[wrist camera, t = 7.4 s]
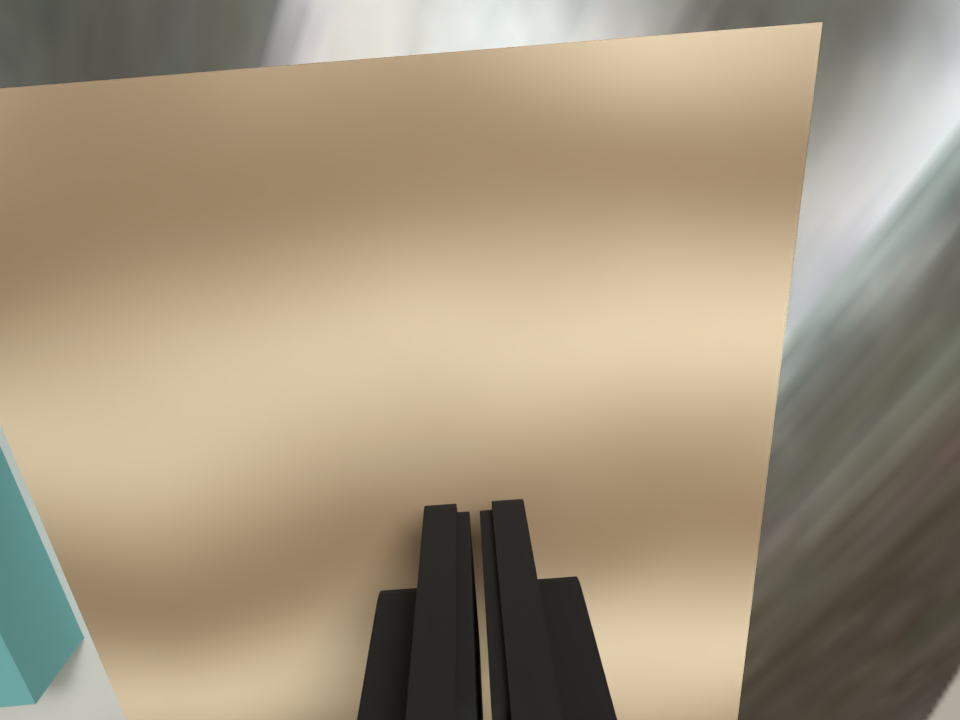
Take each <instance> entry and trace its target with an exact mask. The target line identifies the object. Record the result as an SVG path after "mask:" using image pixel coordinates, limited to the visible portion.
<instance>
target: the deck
mask: <svg viewBox="0 0 960 720" xmlns="http://www.w3.org/2000/svg"><path fill="white" fill-rule="evenodd" d="M822 24H823V22H817V23H805V24H792V25H780V26H768V27H755V28H743V29H730V30H718V31H706V32H693V33H681V34H669V35H656V36H644V37H632V38H619V39H607V40H594V41H582V42H570V43H557V44H545V45H533V46H520V47H508V48H496V49H483V50H471V51H459V52H446V53H434V54H421V55H409V56H397V57H384V58H372V59H360V60H347V61H335V62H323V63H310V64H298V65H285V66H273V67H261V68H248V69H236V70H224V71H211V72H199V73H187V74H174V75H162V76H150V77H137V78H125V79H112V80H100V81H88V82H75V83H63V84H51V85H38V86H26V87H14V88H1V89H0V424H1V427H2V429H3V431H4V434H5V436H6V438H7V441H8V443H9V445H10V448H11V450H12V453H13V455H14V457H15V460H16V462H17V464H18V467H19V469H20V471H21V474H22V476H23V478H24V481H25V483H26V486H27V488H28V490H29V493H30V495H31V497H32V500H33V502H34V504H35V507H36V509H37V511H38V514H39V516H40V518H41V521H42V523H43V526H44V528H45V530H46V533H47V535H48V537H49V540H50V542H51V544H52V547H53V549H54V551H55V554H56V556H57V558H58V561H59V563H60V566H61V568H62V570H63V573H64V575H65V577H66V580H67V582H68V584H69V587H70V589H71V591H72V594H73V596H74V599H75V601H76V603H77V606H78V608H79V610H80V613H81V615H82V617H83V620H84V622H85V624H86V627H87V629H88V631H89V634H90V636H91V639H92V641H93V643H94V646H95V648H96V650H97V653H98V655H99V657H100V660H101V662H102V664H103V667H104V669H105V672H106V674H107V676H108V679H109V681H110V683H111V686H112V688H113V690H114V693H115V695H116V697H117V700H118V702H119V704H120V707H121V709H122V712H123V714H124V716H125V719H126V720H357V716H358V710H359V704H360V699H361V693H362V687H363V681H364V675H365V669H366V663H367V657H368V651H369V645H370V640H371V634H372V628H373V622H374V616H375V610H376V604H377V599H378V595H379V593H380V591H382V590H396V589H410V588H417V582H418V570H419V559H420V548H421V536H422V525H423V513H424V507H425V506H428V505H442V504H457V512H467V511H469V512H470V524H471V536H472V549H473V562H474V575H475V587H476V600H477V613H478V625H479V639H480V658H481V680H482V703H483V720H492V713H491V697H490V680H489V663H488V646H487V629H486V612H485V595H484V578H483V561H482V544H481V527H480V511H481V510H492V501H499V500H513V499H523V501H524V506H525V511H526V517H527V522H528V528H529V533H530V539H531V545H532V550H533V556H534V561H535V567H536V573H537V578H538V579H547V578H561V577H574V576H577V578H578V579H579V582H580V585H581V588H582V592H583V595H584V599H585V603H586V606H587V610H588V614H589V617H590V621H591V625H592V628H593V632H594V636H595V640H596V643H597V647H598V651H599V654H600V658H601V662H602V665H603V669H604V673H605V676H606V680H607V684H608V688H609V691H610V695H611V699H612V702H613V706H614V710H615V713H616V717H617V720H737V719H738V710H739V702H740V694H741V686H742V678H743V670H744V661H745V653H746V645H747V637H748V629H749V621H750V612H751V604H752V596H753V588H754V580H755V571H756V563H757V555H758V547H759V539H760V531H761V522H762V514H763V506H764V498H765V490H766V482H767V473H768V465H769V457H770V449H771V441H772V433H773V424H774V416H775V408H776V400H777V392H778V383H779V375H780V367H781V359H782V351H783V343H784V334H785V326H786V318H787V310H788V302H789V294H790V285H791V277H792V269H793V261H794V253H795V244H796V236H797V228H798V220H799V212H800V204H801V195H802V187H803V179H804V171H805V163H806V155H807V146H808V138H809V130H810V122H811V114H812V106H813V97H814V89H815V81H816V73H817V65H818V56H819V48H820V40H821V32H822Z"/></svg>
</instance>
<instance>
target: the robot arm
mask: <svg viewBox="0 0 960 720" xmlns="http://www.w3.org/2000/svg"><path fill="white" fill-rule="evenodd" d="M480 527H481V544H482V561H483V578H484V595H485V612H486V629H487V646H488V663H489V680H490V697H491V713H492V720H617V717H616V713H615V710H614V706H613V702H612V699H611V695H610V691H609V688H608V684H607V680H606V676H605V673H604V669H603V665H602V662H601V658H600V654H599V651H598V647H597V643H596V640H595V636H594V632H593V628H592V625H591V621H590V617H589V614H588V610H587V606H586V603H585V599H584V595H583V592H582V588H581V585H580V582H579V579H578V578H577V576H574V577H561V578H547V579H538V578H537V573H536V567H535V561H534V556H533V550H532V545H531V539H530V533H529V528H528V522H527V517H526V511H525V506H524V501H523V499H513V500H499V501H492V510H481V511H480ZM357 720H483V703H482V680H481V658H480V639H479V625H478V613H477V600H476V587H475V575H474V562H473V549H472V536H471V524H470V512H469V511H467V512H457V504H442V505H428V506H425V507H424V513H423V525H422V536H421V548H420V559H419V570H418V582H417V588H410V589H396V590H382V591H380V593H379V595H378V599H377V604H376V610H375V616H374V622H373V628H372V634H371V640H370V645H369V651H368V657H367V663H366V669H365V675H364V681H363V687H362V693H361V699H360V704H359V710H358V716H357Z"/></svg>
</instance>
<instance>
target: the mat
mask: <svg viewBox="0 0 960 720" xmlns="http://www.w3.org/2000/svg"><path fill="white" fill-rule="evenodd" d="M0 447H1V449H2V451H3V453H4V456H5V458H6V460H7V463H8V465H9V467H10V469H11V472H12V474H13V476H14V479H15V481H16V483H17V485H18V488H19V490H20V492H21V495H22V497H23V499H24V501H25V504H26V506H27V508H28V511H29V513H30V515H31V517H32V520H33V522H34V524H35V527H36V529H37V531H38V533H39V536H40V538H41V540H42V543H43V545H44V547H45V549H46V552H47V554H48V556H49V559H50V561H51V563H52V565H53V568H54V570H55V572H56V575H57V577H58V579H59V581H60V584H61V586H62V588H63V591H64V593H65V595H66V597H67V600H68V602H69V604H70V607H71V609H72V611H73V613H74V616H75V618H76V620H77V623H78V625H79V627H80V629H81V632H82V634H83V636H84V639H83V640H82V642H81V643H80V644H79V646H78V647H77V649H76V650H75V651H74V653H73V654H72V655H71V657H70V658H69V659H68V661H67V662H66V664H65V665H64V666H63V668H62V669H61V670H60V672H59V673H58V675H57V676H56V677H55V679H54V680H53V681H52V683H51V684H50V685H49V687H48V688H47V690H46V691H45V692H44V694H43V695H42V696H41V698H40V699H39V700H38V702H37V703H36V704H32V705H21V706H10V707H0V720H126V719H125V716H124V714H123V712H122V709H121V707H120V704H119V702H118V700H117V697H116V695H115V693H114V690H113V688H112V686H111V683H110V681H109V679H108V676H107V674H106V672H105V669H104V667H103V664H102V662H101V660H100V657H99V655H98V653H97V650H96V648H95V646H94V643H93V641H92V639H91V636H90V634H89V631H88V629H87V627H86V624H85V622H84V620H83V617H82V615H81V613H80V610H79V608H78V606H77V603H76V601H75V599H74V596H73V594H72V591H71V589H70V587H69V584H68V582H67V580H66V577H65V575H64V573H63V570H62V568H61V566H60V563H59V561H58V558H57V556H56V554H55V551H54V549H53V547H52V544H51V542H50V540H49V537H48V535H47V533H46V530H45V528H44V526H43V523H42V521H41V518H40V516H39V514H38V511H37V509H36V507H35V504H34V502H33V500H32V497H31V495H30V493H29V490H28V488H27V486H26V483H25V481H24V478H23V476H22V474H21V471H20V469H19V467H18V464H17V462H16V460H15V457H14V455H13V453H12V450H11V448H10V445H9V443H8V441H7V438H6V436H5V434H4V431H3V429H2V427H1V424H0Z"/></svg>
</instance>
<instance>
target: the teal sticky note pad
mask: <svg viewBox="0 0 960 720" xmlns="http://www.w3.org/2000/svg"><path fill="white" fill-rule="evenodd" d="M83 639H84V636H83V634H82V632H81V629H80V627H79V625H78V623H77V620H76V618H75V616H74V613H73V611H72V609H71V607H70V604H69V602H68V600H67V597H66V595H65V593H64V591H63V588H62V586H61V584H60V581H59V579H58V577H57V575H56V572H55V570H54V568H53V565H52V563H51V561H50V559H49V556H48V554H47V552H46V549H45V547H44V545H43V543H42V540H41V538H40V536H39V533H38V531H37V529H36V527H35V524H34V522H33V520H32V517H31V515H30V513H29V511H28V508H27V506H26V504H25V501H24V499H23V497H22V495H21V492H20V490H19V488H18V485H17V483H16V481H15V479H14V476H13V474H12V472H11V469H10V467H9V465H8V463H7V460H6V458H5V456H4V453H3V451H2V449H1V447H0V707H10V706H21V705H32V704H36V703H37V702H38V700H39V699H40V698H41V696H42V695H43V694H44V692H45V691H46V690H47V688H48V687H49V685H50V684H51V683H52V681H53V680H54V679H55V677H56V676H57V675H58V673H59V672H60V670H61V669H62V668H63V666H64V665H65V664H66V662H67V661H68V659H69V658H70V657H71V655H72V654H73V653H74V651H75V650H76V649H77V647H78V646H79V644H80V643H81V642H82V640H83Z"/></svg>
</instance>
